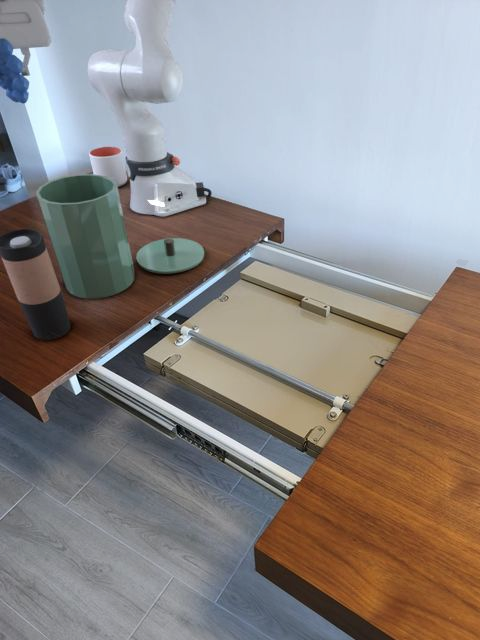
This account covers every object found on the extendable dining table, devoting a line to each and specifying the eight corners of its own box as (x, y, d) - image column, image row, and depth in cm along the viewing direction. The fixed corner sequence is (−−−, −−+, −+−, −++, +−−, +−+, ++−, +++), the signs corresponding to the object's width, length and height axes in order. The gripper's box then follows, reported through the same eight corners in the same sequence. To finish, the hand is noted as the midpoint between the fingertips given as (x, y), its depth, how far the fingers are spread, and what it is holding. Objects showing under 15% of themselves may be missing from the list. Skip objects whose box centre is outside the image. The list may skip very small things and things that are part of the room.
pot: (124, 256, 117) (105, 169, 103) (143, 287, 106) (125, 194, 92) (60, 272, 111) (31, 182, 97) (73, 305, 101) (42, 210, 87)
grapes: (-17, 101, 95) (-42, 30, 88) (16, 95, 99) (-6, 26, 91) (9, 112, 89) (-15, 36, 82) (43, 105, 93) (22, 32, 85)
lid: (190, 237, 125) (188, 220, 122) (215, 265, 114) (213, 248, 111) (129, 251, 119) (125, 233, 116) (148, 282, 108) (145, 264, 105)
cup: (120, 190, 148) (113, 158, 141) (90, 188, 149) (82, 155, 143) (132, 179, 155) (127, 147, 149) (104, 176, 157) (98, 145, 150)
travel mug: (31, 322, 96) (-5, 232, 83) (70, 314, 99) (41, 225, 86) (32, 344, 91) (-6, 252, 78) (73, 335, 93) (43, 244, 80)
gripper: (37, -16, 88) (57, 69, 97) (-89, -13, 81) (-54, 79, 90) (41, -14, 84) (63, 75, 93) (-91, -10, 77) (-54, 85, 86)
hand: (4, 77), depth 91 cm, fingers closed on grapes, 6 cm apart
